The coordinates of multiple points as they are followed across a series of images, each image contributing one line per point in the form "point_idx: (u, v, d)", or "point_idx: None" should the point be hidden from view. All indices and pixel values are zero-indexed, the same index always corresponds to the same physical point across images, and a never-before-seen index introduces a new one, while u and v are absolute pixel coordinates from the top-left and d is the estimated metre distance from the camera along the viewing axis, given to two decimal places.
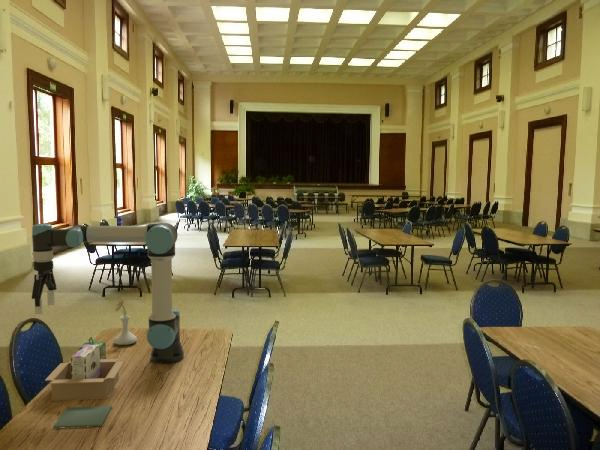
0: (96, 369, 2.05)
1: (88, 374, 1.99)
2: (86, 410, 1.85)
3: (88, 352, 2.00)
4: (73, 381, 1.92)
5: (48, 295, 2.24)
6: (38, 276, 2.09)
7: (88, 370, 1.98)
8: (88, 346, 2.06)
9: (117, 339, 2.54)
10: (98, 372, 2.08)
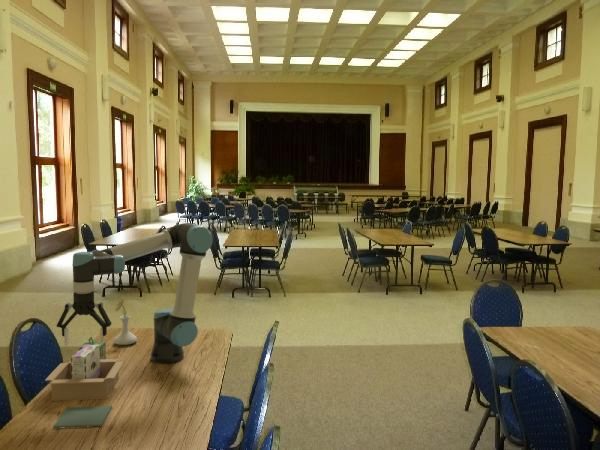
0: (96, 369, 2.05)
1: (88, 373, 1.99)
2: (86, 410, 1.85)
3: (88, 352, 2.00)
4: (73, 381, 1.92)
5: None
6: None
7: (88, 370, 1.98)
8: (88, 346, 2.06)
9: (117, 339, 2.54)
10: (98, 372, 2.08)
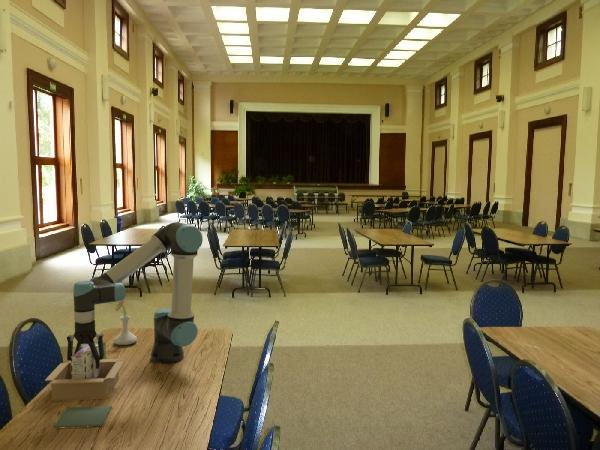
0: None
1: (88, 373, 1.99)
2: (86, 410, 1.85)
3: (88, 352, 2.00)
4: (73, 381, 1.92)
5: None
6: None
7: (88, 369, 1.98)
8: (88, 346, 2.06)
9: (117, 339, 2.54)
10: (98, 372, 2.08)
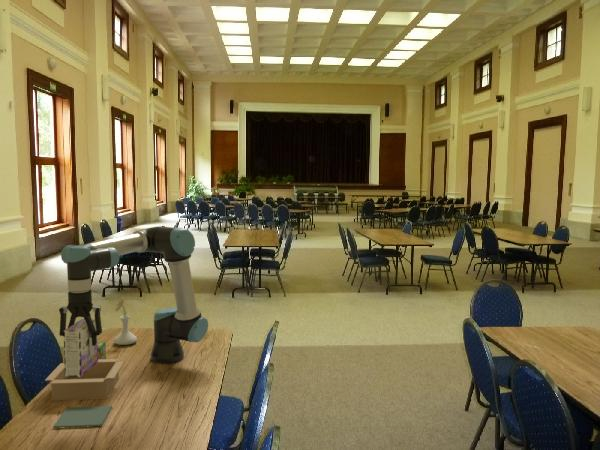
0: None
1: (83, 350, 1.74)
2: (86, 410, 1.85)
3: (83, 326, 1.76)
4: (73, 381, 1.92)
5: None
6: None
7: (83, 346, 1.74)
8: (83, 320, 1.82)
9: (117, 339, 2.54)
10: (95, 350, 1.83)
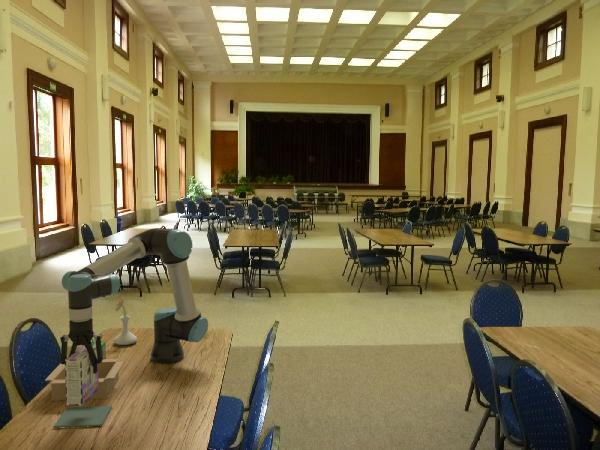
0: None
1: (84, 379, 1.75)
2: (86, 410, 1.85)
3: (84, 355, 1.76)
4: None
5: None
6: None
7: (84, 375, 1.74)
8: (84, 348, 1.82)
9: (117, 339, 2.54)
10: (96, 377, 1.84)
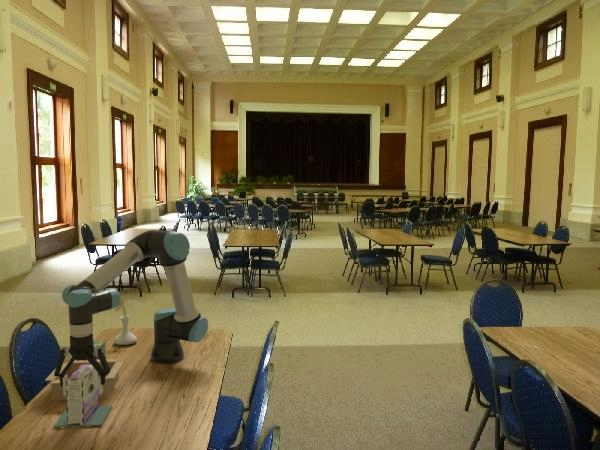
0: (93, 392, 1.82)
1: (85, 398, 1.76)
2: None
3: (85, 374, 1.77)
4: None
5: None
6: None
7: (85, 394, 1.75)
8: (85, 366, 1.83)
9: (117, 339, 2.54)
10: (96, 395, 1.85)
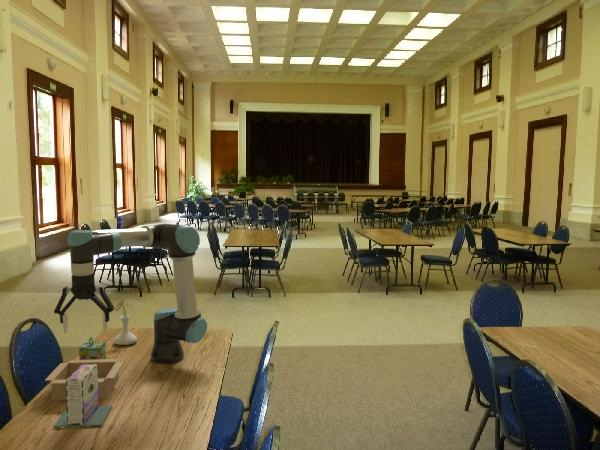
0: (93, 392, 1.82)
1: (85, 398, 1.76)
2: None
3: (85, 374, 1.77)
4: None
5: None
6: None
7: (85, 394, 1.75)
8: (85, 366, 1.83)
9: (117, 339, 2.54)
10: (96, 395, 1.85)
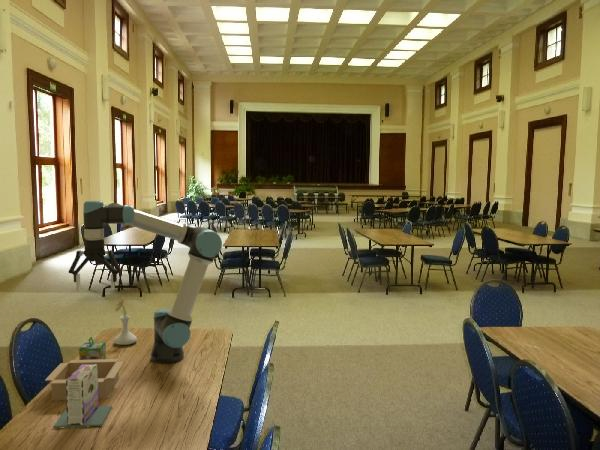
0: (93, 392, 1.82)
1: (85, 398, 1.76)
2: None
3: (85, 374, 1.77)
4: None
5: None
6: None
7: (85, 394, 1.75)
8: (85, 366, 1.83)
9: (117, 339, 2.54)
10: (96, 395, 1.85)
